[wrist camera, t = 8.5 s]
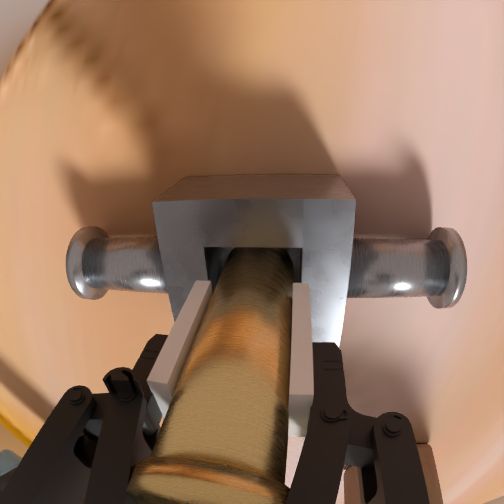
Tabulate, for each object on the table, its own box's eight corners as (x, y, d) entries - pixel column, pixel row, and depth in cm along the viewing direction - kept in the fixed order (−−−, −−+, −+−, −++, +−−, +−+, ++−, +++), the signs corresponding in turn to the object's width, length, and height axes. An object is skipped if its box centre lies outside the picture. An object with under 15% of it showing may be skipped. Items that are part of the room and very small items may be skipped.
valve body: (121, 297, 25) (90, 338, 20) (94, 185, 21) (48, 210, 16) (418, 304, 22) (441, 351, 17) (441, 181, 18) (483, 207, 13)
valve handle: (224, 300, 20) (153, 519, 7) (217, 233, 18) (98, 470, 5) (297, 303, 19) (287, 539, 7) (299, 233, 17) (298, 507, 5)
